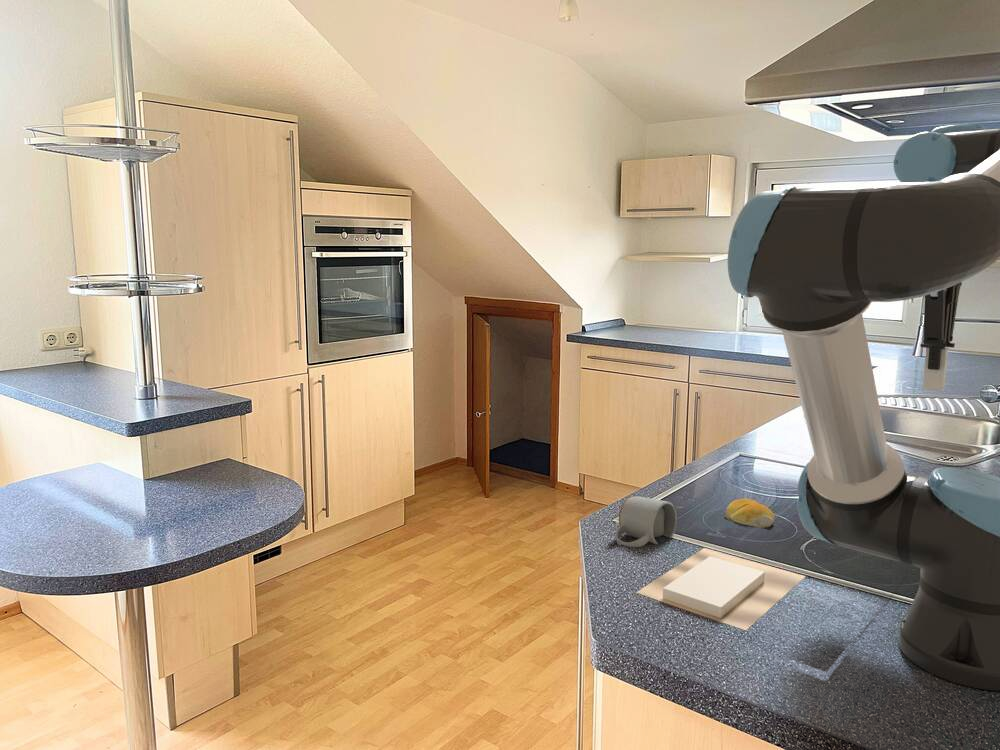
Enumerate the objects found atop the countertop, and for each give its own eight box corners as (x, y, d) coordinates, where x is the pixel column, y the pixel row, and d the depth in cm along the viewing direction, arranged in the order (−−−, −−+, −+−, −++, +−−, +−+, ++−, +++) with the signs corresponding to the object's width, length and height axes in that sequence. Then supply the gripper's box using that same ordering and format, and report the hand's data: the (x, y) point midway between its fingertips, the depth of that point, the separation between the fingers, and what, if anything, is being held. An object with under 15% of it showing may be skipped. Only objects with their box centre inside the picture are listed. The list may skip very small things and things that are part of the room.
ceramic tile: (710, 556, 121) (663, 588, 110) (764, 571, 115) (721, 607, 104) (709, 565, 122) (662, 598, 110) (764, 582, 116) (720, 618, 105)
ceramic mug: (639, 527, 140) (639, 487, 139) (677, 538, 135) (678, 497, 133) (604, 544, 133) (604, 502, 132) (643, 557, 127) (643, 514, 126)
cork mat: (704, 552, 129) (704, 547, 129) (805, 581, 118) (805, 576, 118) (635, 597, 113) (636, 592, 112) (745, 635, 101) (745, 630, 101)
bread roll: (754, 511, 149) (755, 492, 148) (780, 528, 140) (782, 507, 139) (716, 515, 147) (717, 495, 146) (740, 531, 138) (741, 511, 138)
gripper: (968, 234, 106) (951, 399, 110) (985, 234, 115) (970, 386, 119) (908, 234, 110) (895, 392, 115) (930, 234, 120) (917, 380, 124)
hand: (933, 389), depth 117 cm, fingers closed
